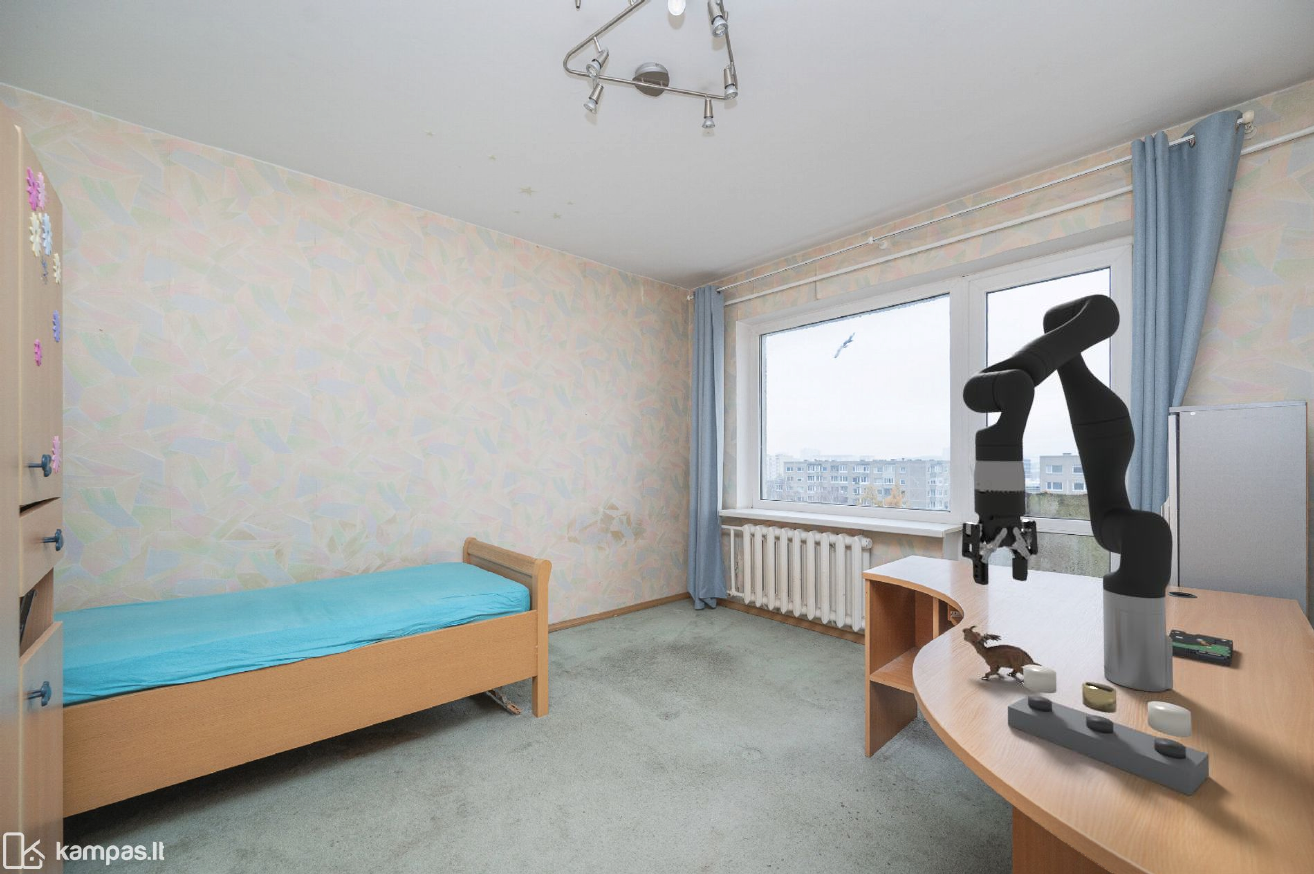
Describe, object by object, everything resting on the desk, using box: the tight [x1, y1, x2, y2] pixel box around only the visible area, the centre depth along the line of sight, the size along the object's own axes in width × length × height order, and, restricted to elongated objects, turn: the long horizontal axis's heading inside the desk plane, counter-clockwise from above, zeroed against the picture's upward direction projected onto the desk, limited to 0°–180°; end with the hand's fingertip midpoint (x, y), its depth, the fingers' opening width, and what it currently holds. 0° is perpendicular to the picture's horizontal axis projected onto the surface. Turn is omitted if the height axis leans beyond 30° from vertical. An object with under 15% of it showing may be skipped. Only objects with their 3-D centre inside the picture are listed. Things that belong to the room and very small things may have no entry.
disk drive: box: [1168, 629, 1234, 667], centre depth 124 cm, size 10×3×15 cm
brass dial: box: [1081, 681, 1118, 714], centre depth 84 cm, size 4×4×3 cm
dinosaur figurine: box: [962, 625, 1043, 683], centre depth 109 cm, size 14×6×9 cm, turn 67°
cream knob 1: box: [1022, 665, 1057, 694], centre depth 90 cm, size 4×4×3 cm
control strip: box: [1007, 694, 1210, 796], centre depth 83 cm, size 22×8×4 cm, turn 33°
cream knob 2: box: [1147, 701, 1192, 738], centre depth 77 cm, size 4×4×3 cm
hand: (1000, 582), depth 95 cm, fingers open, 8 cm apart
